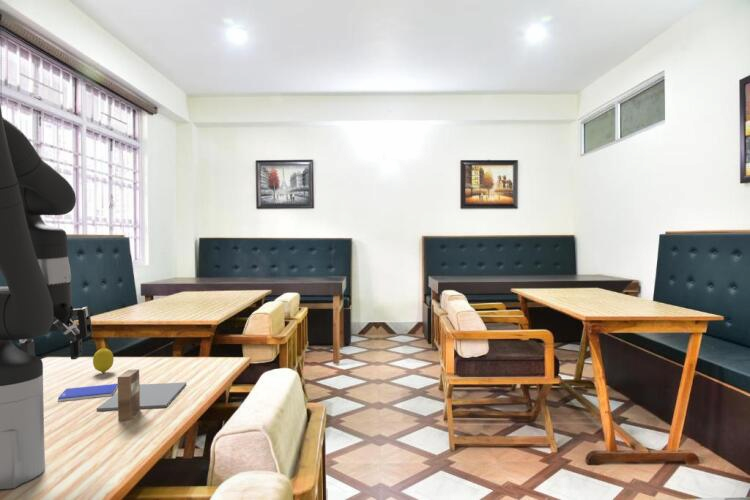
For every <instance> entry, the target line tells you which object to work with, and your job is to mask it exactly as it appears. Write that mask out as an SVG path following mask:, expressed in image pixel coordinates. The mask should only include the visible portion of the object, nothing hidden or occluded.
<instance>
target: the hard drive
mask: <svg viewBox="0 0 750 500" xmlns="http://www.w3.org/2000/svg"><path fill="white" fill-rule="evenodd" d="M116 390H118V383H111V384H101V385H90V386H81V387H70V388H65V389H64V391H63V392H61V394H60V395H59V396H58V398H57V402H65V401H75V400H84V399H91V398H92V399H94V398H101V397H102V398H103V397H109V396H111V397H112V396H113V395H115V393H116Z"/></svg>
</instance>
